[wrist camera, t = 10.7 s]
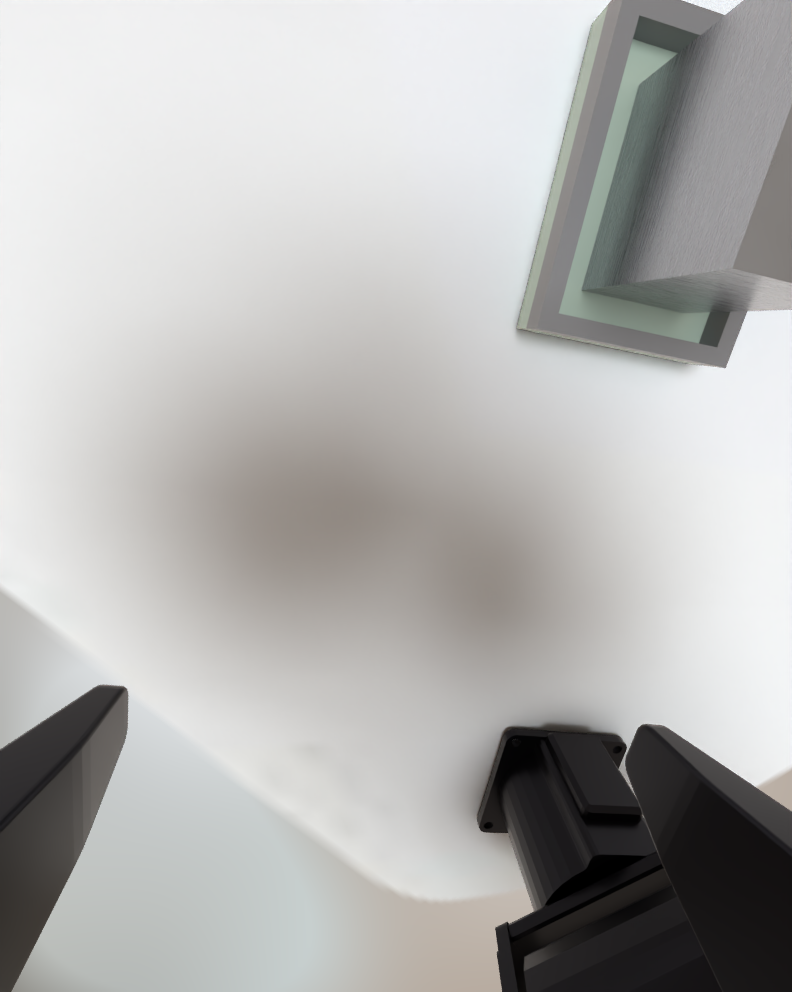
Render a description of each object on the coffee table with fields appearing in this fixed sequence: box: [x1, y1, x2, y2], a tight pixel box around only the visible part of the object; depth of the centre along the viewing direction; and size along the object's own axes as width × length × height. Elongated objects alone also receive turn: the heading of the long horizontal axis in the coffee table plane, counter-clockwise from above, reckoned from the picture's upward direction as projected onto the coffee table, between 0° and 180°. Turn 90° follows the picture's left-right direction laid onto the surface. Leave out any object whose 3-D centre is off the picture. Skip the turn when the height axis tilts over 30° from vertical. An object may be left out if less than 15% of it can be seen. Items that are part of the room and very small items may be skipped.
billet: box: [581, 0, 792, 313], centre depth 13 cm, size 6×4×7 cm, turn 169°
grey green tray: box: [517, 0, 747, 368], centre depth 16 cm, size 9×7×2 cm
